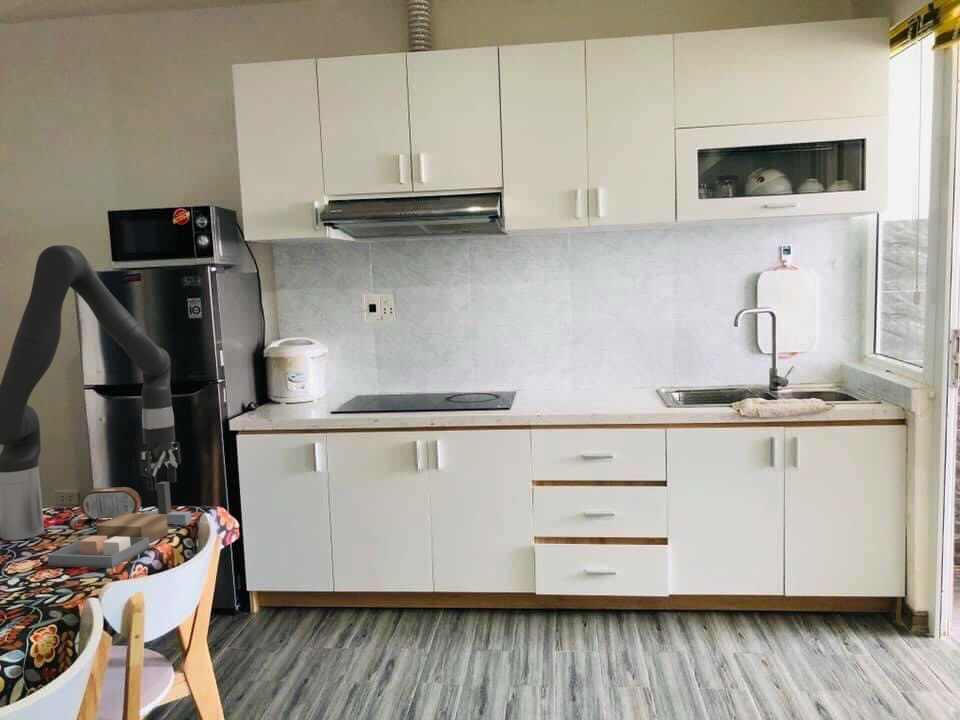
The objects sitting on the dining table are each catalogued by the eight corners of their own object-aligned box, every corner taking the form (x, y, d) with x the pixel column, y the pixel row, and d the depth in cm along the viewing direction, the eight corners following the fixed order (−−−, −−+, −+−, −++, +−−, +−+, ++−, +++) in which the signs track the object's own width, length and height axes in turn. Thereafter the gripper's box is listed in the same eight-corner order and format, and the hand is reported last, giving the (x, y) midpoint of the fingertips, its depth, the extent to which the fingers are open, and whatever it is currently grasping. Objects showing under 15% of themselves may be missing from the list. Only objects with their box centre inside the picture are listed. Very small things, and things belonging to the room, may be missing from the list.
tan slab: (97, 546, 178) (96, 525, 177) (125, 532, 187) (123, 513, 187) (142, 547, 175) (141, 526, 175) (168, 533, 185) (166, 514, 185)
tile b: (114, 536, 173) (115, 548, 173) (102, 542, 169) (103, 554, 169) (129, 536, 172) (130, 549, 172) (118, 542, 168) (119, 555, 169)
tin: (142, 515, 202) (140, 485, 202) (137, 519, 199) (135, 488, 198) (86, 518, 202) (84, 488, 201) (80, 522, 199) (78, 491, 198)
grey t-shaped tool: (140, 525, 194) (137, 483, 193) (146, 522, 197) (143, 481, 196) (186, 526, 192) (182, 484, 191) (191, 523, 194) (188, 481, 193)
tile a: (91, 535, 174) (92, 548, 174) (80, 541, 170) (81, 554, 170) (107, 535, 174) (108, 548, 174) (96, 541, 170) (97, 554, 170)
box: (48, 565, 165) (47, 555, 165) (89, 546, 178) (88, 536, 178) (112, 568, 162) (111, 557, 162) (149, 548, 175) (148, 537, 175)
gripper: (161, 419, 200) (165, 479, 201) (127, 429, 186) (131, 493, 187) (187, 420, 198) (190, 479, 200) (154, 429, 184) (158, 493, 186)
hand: (162, 486), depth 193 cm, fingers open, 8 cm apart
